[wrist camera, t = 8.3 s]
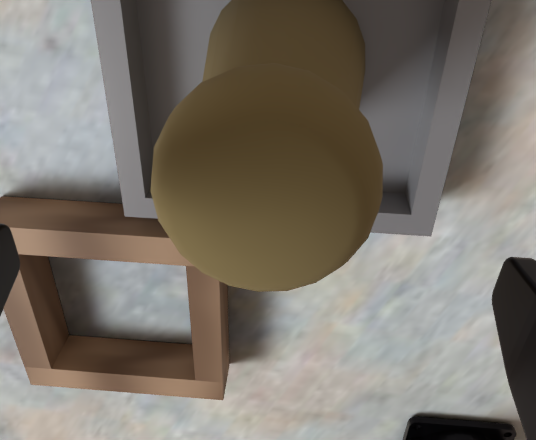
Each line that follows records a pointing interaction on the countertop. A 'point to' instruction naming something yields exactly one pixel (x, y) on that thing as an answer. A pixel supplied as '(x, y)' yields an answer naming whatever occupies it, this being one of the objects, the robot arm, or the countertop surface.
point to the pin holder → (108, 349)
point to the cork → (272, 149)
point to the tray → (371, 105)
